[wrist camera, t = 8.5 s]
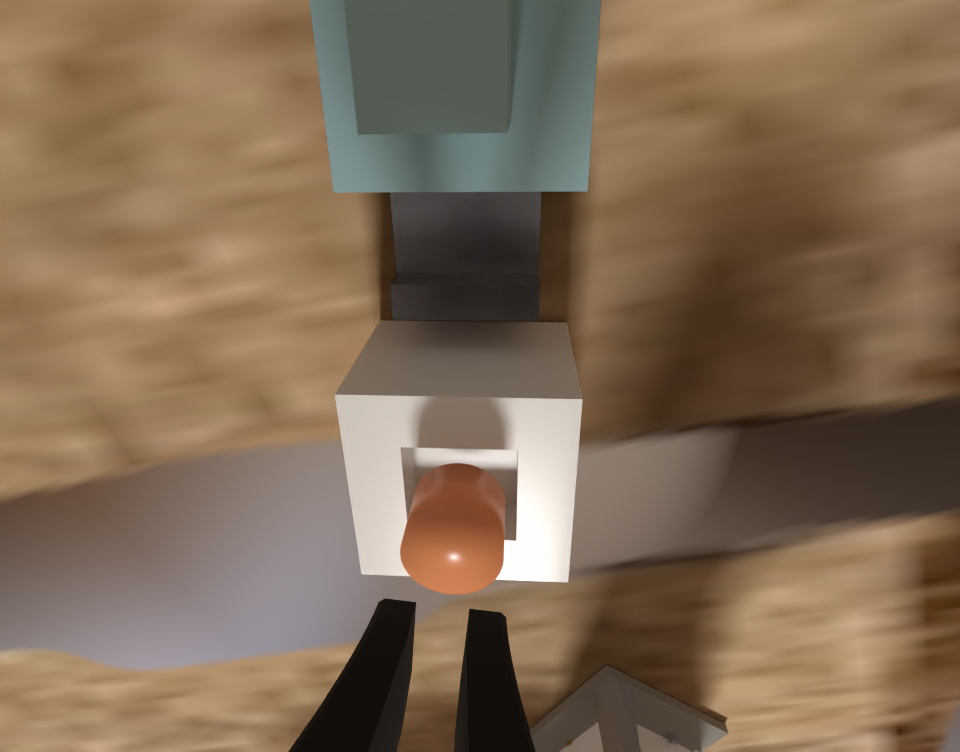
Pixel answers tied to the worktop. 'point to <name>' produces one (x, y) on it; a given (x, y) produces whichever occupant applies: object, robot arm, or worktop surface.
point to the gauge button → (455, 530)
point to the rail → (466, 256)
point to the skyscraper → (624, 720)
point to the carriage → (457, 93)
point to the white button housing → (464, 432)
